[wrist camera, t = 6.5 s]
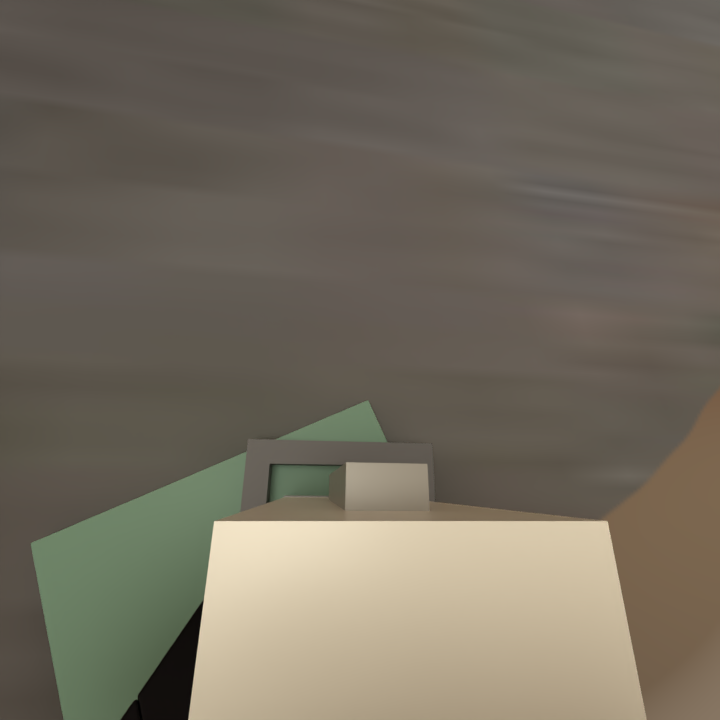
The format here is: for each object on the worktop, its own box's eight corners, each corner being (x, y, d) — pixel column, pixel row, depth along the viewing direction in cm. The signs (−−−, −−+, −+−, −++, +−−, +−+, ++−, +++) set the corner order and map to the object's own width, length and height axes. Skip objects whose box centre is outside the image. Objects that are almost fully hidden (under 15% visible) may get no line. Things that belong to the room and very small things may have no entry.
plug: (397, 623, 14) (738, 1159, 3) (276, 627, 14) (103, 1307, 2) (394, 478, 16) (597, 456, 5) (286, 477, 15) (218, 448, 4)
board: (532, 681, 16) (562, 707, 14) (128, 971, 12) (95, 1062, 10) (390, 386, 19) (399, 376, 18) (43, 533, 15) (5, 539, 14)
